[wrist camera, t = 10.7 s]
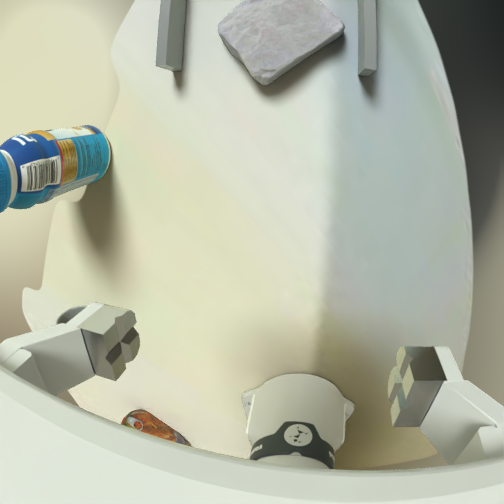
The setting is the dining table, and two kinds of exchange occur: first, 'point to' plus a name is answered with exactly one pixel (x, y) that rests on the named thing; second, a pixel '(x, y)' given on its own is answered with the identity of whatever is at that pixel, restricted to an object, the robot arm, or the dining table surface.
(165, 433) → the tin
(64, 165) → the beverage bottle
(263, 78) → the stone block
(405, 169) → the dining table surface
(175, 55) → the box
